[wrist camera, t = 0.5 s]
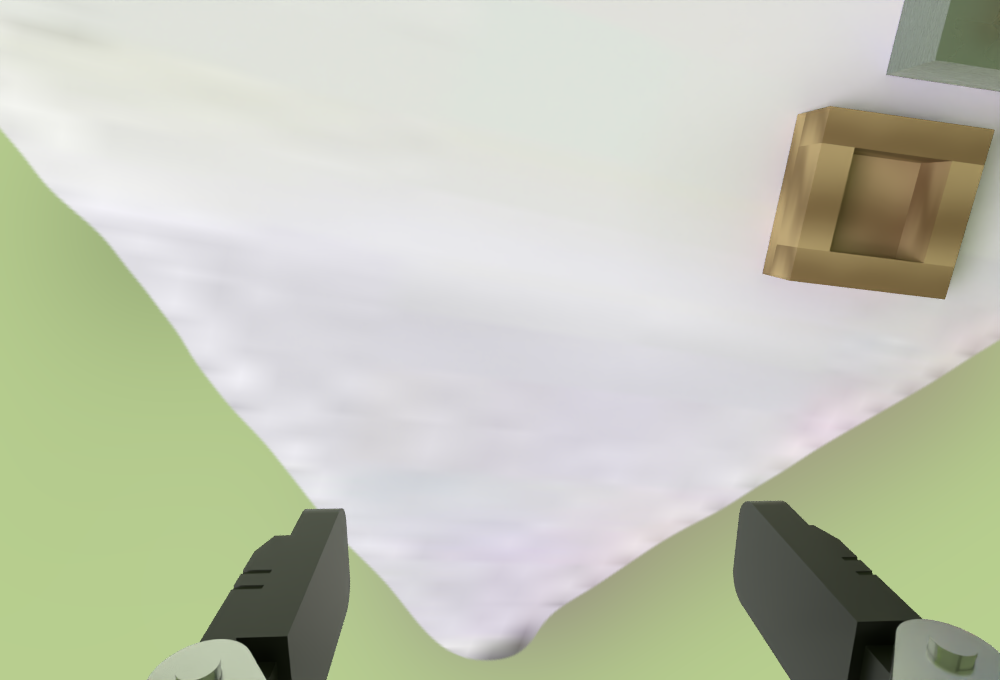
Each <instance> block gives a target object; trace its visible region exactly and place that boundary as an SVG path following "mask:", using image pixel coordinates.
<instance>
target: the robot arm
mask: <svg viewBox="0 0 1000 680" xmlns="http://www.w3.org/2000/svg"><path fill="white" fill-rule="evenodd" d="M349 573H350V572H349V558H348V542H347V527H346V516H345V512H344V510H343V509H305V510H304V511H303V512H302V514H301V516H300V518H299V520H298V522H297V524H296V526H295V527H294V529H293V531H292V533H291V535H286V536H274V537H273V538H271V539H270V540H269V541H268V542H266V543H265V544H264V545H262V546H261V547H260V548H259V549H257V550H256V551H255V552H254V553H253V555H252V557H251V558H250V560H249V562H248V563H247V565H246V567H245V568H244V570H243V574H241V575H240V576H239V578H238V580H237V581H236V583H235V585H234V589H233V590H231V591H230V593H229V595H228V596H227V598H226V600H225V601H224V603H223V605H222V606H221V608H220V610H219V611H218V613H217V614H216V616H215V618H214V619H213V621H212V623H211V624H210V626H209V628H208V629H207V631H206V633H205V634H204V636H203V638H202V639H201V641H200V642H199V643H196V644H194V645H190V646H188V647H186V648H184V649H182V650H180V651H178V652H176V653H174V654H173V655H171V656H170V657H168V658H167V659H165V660H164V661H163V662H162V663H161V664H160V665H158V666H157V667H156V668H155V670H154V671H153V672H152V673H151V674H150V676H149V677H148V679H147V680H326V679H327V676H328V672H329V669H330V666H331V662H332V659H333V656H334V652H335V649H336V646H337V642H338V639H339V636H340V632H341V629H342V626H343V622H344V619H345V616H346V612H347V608H348V602H349V592H350V574H349ZM733 577H734V584H735V589H736V593H737V595H738V598H739V600H740V602H741V604H742V606H743V607H744V609H745V610H746V612H747V613H748V615H749V616H750V618H751V619H752V621H753V622H754V624H755V625H756V627H757V628H758V630H759V632H760V633H761V635H762V636H763V638H764V639H765V641H766V643H767V644H768V646H769V647H770V648H771V650H772V652H773V653H774V655H775V656H776V658H777V659H778V661H779V663H780V664H781V666H782V667H783V669H784V670H785V672H786V673H787V675H788V676H789V678H790V679H791V680H1000V653H999V652H998V651H997V650H996V649H994V648H993V647H992V646H991V645H990V644H988V643H987V642H985V641H984V640H982V639H981V638H979V637H977V636H975V635H973V634H972V633H970V632H968V631H965V630H963V629H961V628H958V627H956V626H953V625H950V624H947V623H943V622H939V621H934V620H927V619H922V618H921V617H920V616H919V615H918V614H917V613H916V612H914V611H913V610H912V609H911V608H910V607H909V606H908V605H907V604H906V603H905V602H904V601H903V600H902V599H901V598H900V597H899V596H898V595H897V594H896V593H895V592H893V591H892V590H891V589H890V588H889V587H888V586H887V585H886V584H885V583H884V582H883V581H882V580H881V579H880V578H879V577H878V576H877V575H873V574H872V571H871V570H870V569H869V568H868V567H867V566H866V565H865V564H864V563H863V562H862V561H861V560H857V556H856V555H854V554H853V552H851V551H850V550H849V549H848V548H847V547H846V546H845V545H844V544H843V543H842V542H841V541H840V540H839V539H837V538H835V537H834V536H832V535H830V534H828V533H827V532H825V531H823V530H821V529H819V528H818V527H816V526H814V525H808V524H807V523H806V522H805V521H804V520H803V519H802V518H801V517H800V516H799V515H798V514H797V513H796V512H795V511H794V510H793V509H792V508H791V507H790V506H789V505H788V504H787V503H786V502H784V501H751V502H750V501H747V502H745V503H743V505H742V506H741V509H740V513H739V522H738V531H737V540H736V549H735V558H734V568H733Z"/></svg>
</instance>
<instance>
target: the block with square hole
mask: <svg viewBox="0 0 1000 680" xmlns="http://www.w3.org/2000/svg"><path fill="white" fill-rule="evenodd" d="M886 75H892V76H899V77H906V78H912V79H919V80H926V81H933V82H939V83H946V84H953V85H960V86H966V87H973V88H980V89H986V90H993V91H1000V0H905V2H904V6H903V10H902V14H901V18H900V22H899V26H898V30H897V34H896V38H895V42H894V46H893V50H892V54H891V58H890V62H889V66H888V70H887V74H886Z"/></svg>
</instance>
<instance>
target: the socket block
mask: <svg viewBox="0 0 1000 680" xmlns="http://www.w3.org/2000/svg"><path fill="white" fill-rule="evenodd" d="M994 131H995V130H992V129H986V128H979V127H972V126H965V125H958V124H951V123H944V122H937V121H930V120H923V119H916V118H909V117H902V116H895V115H888V114H881V113H874V112H867V111H860V110H853V109H846V108H839V107H832V106H829V107H826V108H822V109H818V110H814V111H810V112H806V113H802V114H798V116H797V120H796V125H795V129H794V134H793V138H792V143H791V147H790V152H789V156H788V161H787V165H786V170H785V174H784V179H783V183H782V188H781V192H780V197H779V202H778V206H777V211H776V215H775V220H774V224H773V229H772V233H771V238H770V242H769V247H768V251H767V256H766V260H765V265H764V269H763V274H766V275H770V276H774V277H778V278H782V279H786V280H790V281H798V282H806V283H814V284H822V285H831V286H839V287H847V288H856V289H864V290H872V291H880V292H889V293H897V294H905V295H913V296H922V297H930V298H938V299H945V297H946V294H947V291H948V287H949V284H950V280H951V277H952V274H953V270H954V267H955V263H956V260H957V257H958V253H959V250H960V246H961V243H962V239H963V236H964V233H965V229H966V226H967V222H968V219H969V216H970V212H971V209H972V205H973V202H974V199H975V195H976V192H977V188H978V185H979V182H980V178H981V175H982V171H983V168H984V165H985V161H986V158H987V154H988V151H989V148H990V144H991V141H992V137H993V134H994Z"/></svg>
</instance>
